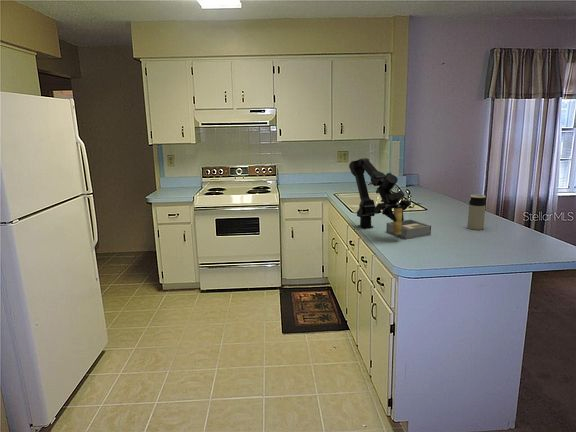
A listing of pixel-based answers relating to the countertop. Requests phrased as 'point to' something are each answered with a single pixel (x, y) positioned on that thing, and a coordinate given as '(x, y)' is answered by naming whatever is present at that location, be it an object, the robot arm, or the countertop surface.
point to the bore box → (411, 229)
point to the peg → (397, 221)
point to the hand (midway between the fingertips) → (399, 220)
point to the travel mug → (476, 212)
